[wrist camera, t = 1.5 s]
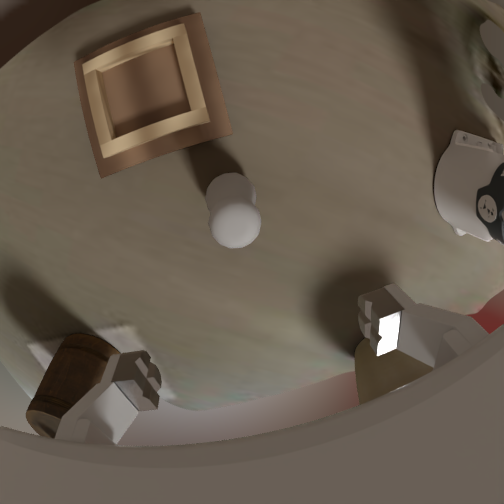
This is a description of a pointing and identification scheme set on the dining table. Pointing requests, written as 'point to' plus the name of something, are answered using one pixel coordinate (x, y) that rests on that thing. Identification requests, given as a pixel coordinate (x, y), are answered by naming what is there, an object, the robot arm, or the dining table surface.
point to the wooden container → (68, 380)
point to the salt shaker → (233, 210)
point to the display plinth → (151, 94)
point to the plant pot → (384, 371)
